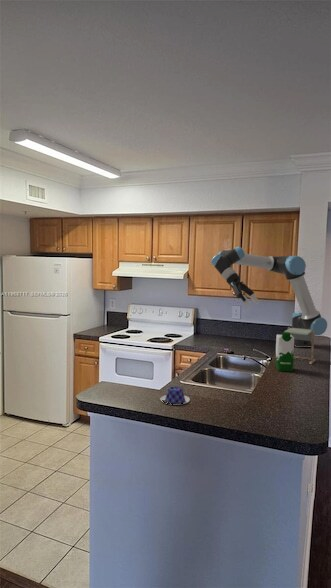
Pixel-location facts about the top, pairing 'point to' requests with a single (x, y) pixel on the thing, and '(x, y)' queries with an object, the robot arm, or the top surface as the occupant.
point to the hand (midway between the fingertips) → (254, 304)
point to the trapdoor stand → (311, 349)
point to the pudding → (175, 396)
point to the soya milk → (284, 352)
